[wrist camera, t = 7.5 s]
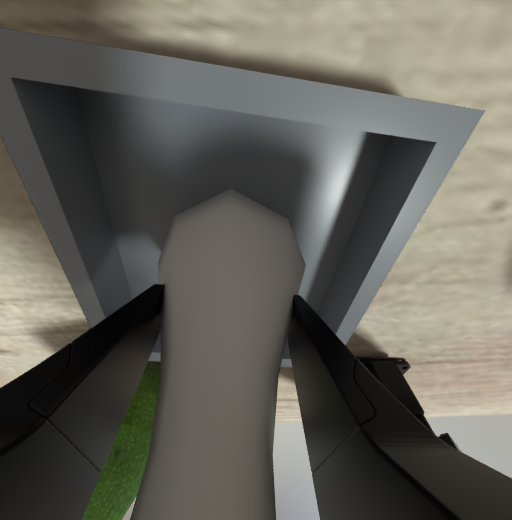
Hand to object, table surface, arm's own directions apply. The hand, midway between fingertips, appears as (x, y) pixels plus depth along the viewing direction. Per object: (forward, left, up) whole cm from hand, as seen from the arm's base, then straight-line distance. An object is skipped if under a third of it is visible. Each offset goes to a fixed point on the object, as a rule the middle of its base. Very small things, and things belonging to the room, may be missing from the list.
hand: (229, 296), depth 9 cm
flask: (0, 0, -3) cm, 3 cm away
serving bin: (0, 0, -5) cm, 5 cm away
